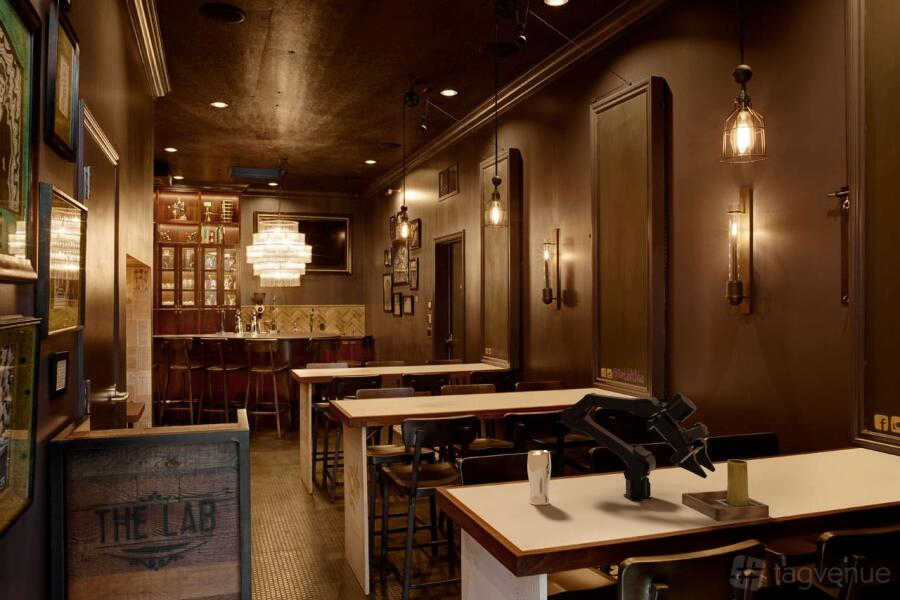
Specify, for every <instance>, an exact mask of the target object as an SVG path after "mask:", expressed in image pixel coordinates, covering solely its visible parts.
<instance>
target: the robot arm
mask: <svg viewBox="0 0 900 600" xmlns="http://www.w3.org/2000/svg"><path fill="white" fill-rule="evenodd" d="M594 407H595V408H601V409H602V408H603V409H610V410H617V411H625V412H629V413H631V414H633V415H635V416H638V417H641V418H645V419H647V418H651V417H653V419H648V420H646V430H647V431H650V430H652V429H655V430H656V431H657V432H658V433H659V434H660V435H661V436H662V438H663V439H664V440H665V441H664V443H665V444H666V445H670V446H671V448H673V450H675V452H673V454H671V455H670V462H671V463H672V464H673V465H674V466H675V467H676V466H677V467H678V468H681V469H683V470H686V471H688V472H689V473H692V474H694V475H696V476H699V477H701V478H702V479H706V478H707V477H708V475H707V473H706V471H705V470H704V468H706V469H707V470H708V471H710V472H712V473H714V472H715V471H716V467H715V466H714V464H713V462H712V460H711V459H710V456H709V454H708V452H707V450H708V444H707V443H708V442H707V441H706V439H705V437H707V436H709V435H710V432H709V431H708V429H709V427H708V426H707V425H706V424H703V423H702V422H701V421H700V422H697V423H695V424H693V428H690V429H687V428H686V427H681V426H680V425H679V424H678V423H677V422H681V423H682V422H684V421H685V420H686V419H688V418H689V417H690V416H691V415H693V413H694V412H695V411H696V410H697V406H696V404H695V403H694V402H693V401H692V400H691V399H689V398H688V397H686V396H685V395H683V394H682V393H681V392H677V393H676V394H675V396H673V398H672V399H671V400H670V401H668V402H663V401H660V400H659V399H657V397H655V396H641V397H624V396H616V395H615V396H614V395H607V394H600V393H599V394H598V393H595V392H590V393H587V394H585V395H584V396H583V397H581V399H580V400H578V401H577V402H576V403H574V404H573V405H572V406H570V407H567V408H565V409H563V410H562V412H561V414H560V418H561V422H562V423H563V425H565V426H566V427H569V428H571V429H573V430H576V431H579V432H583V433H585V434H586V435H588V436H589V437H591V438H592V439H593V440H595V441H596V442H598V443H600V444H601V445H602V446H604V447H605V448H607V449H608V450H609V451H611V452H612V453H614V455H615V454H616V455H617V456H618V457H619V458H621V460H623V462H624V463H625V465H626V466H627V467H628V468H626V470H625V471H624V472H623V476H624V479H625V493H623V496H624V497H625V498H627V499H628V500H630V501H633V502H635V501H636V502H637V501H638V502H639V501H643V500H652V499H653V498H652V497H651V495H652V494H651V490H652V489H651V485H652V484H651V482H650V478H649V476H650V475H651V472H652V471H653V470H654V469H655V468H656V466H657V461H656V458H655V456H654V455H653V454H652V451H649V450H647V449H645V447H643V446H642V445H637V446H635V447H633V446H631V445H629V444H628V443H626V442H625V441H623V440H622V439H620V438H619V437H617V436H615V435H614V434H613V433H611V432H610V431H609V430H607V429H606V428H604V427H602V426H601V425H600V424H598V423H596V422H595V421H594V420H593V419H592V417H591V416H590V414H589V413H590V412H591V411H592V409H594ZM662 412H664V413H663V414H662V415H661V414H659V413H662ZM654 416H655V417H654ZM702 467H704V468H702Z"/></svg>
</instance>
